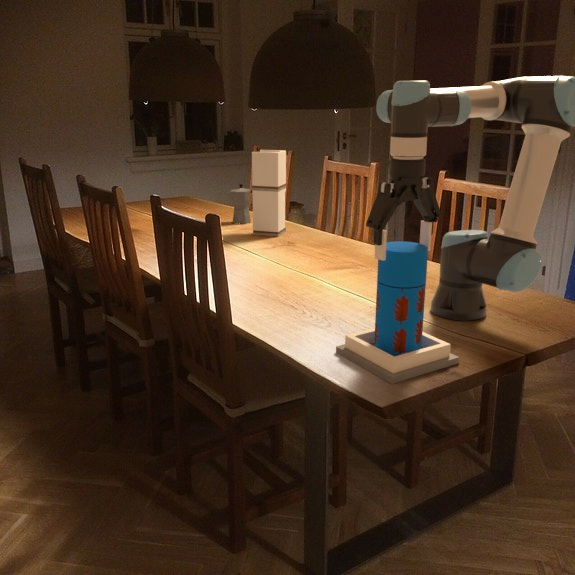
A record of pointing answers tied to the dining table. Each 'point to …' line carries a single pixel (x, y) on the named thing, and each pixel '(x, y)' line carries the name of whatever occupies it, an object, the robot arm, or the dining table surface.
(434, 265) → the dining table surface
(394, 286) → the thermos
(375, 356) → the holder
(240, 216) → the coffeepot
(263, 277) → the dining table surface
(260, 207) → the cream tall block
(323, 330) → the dining table surface
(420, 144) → the robot arm
